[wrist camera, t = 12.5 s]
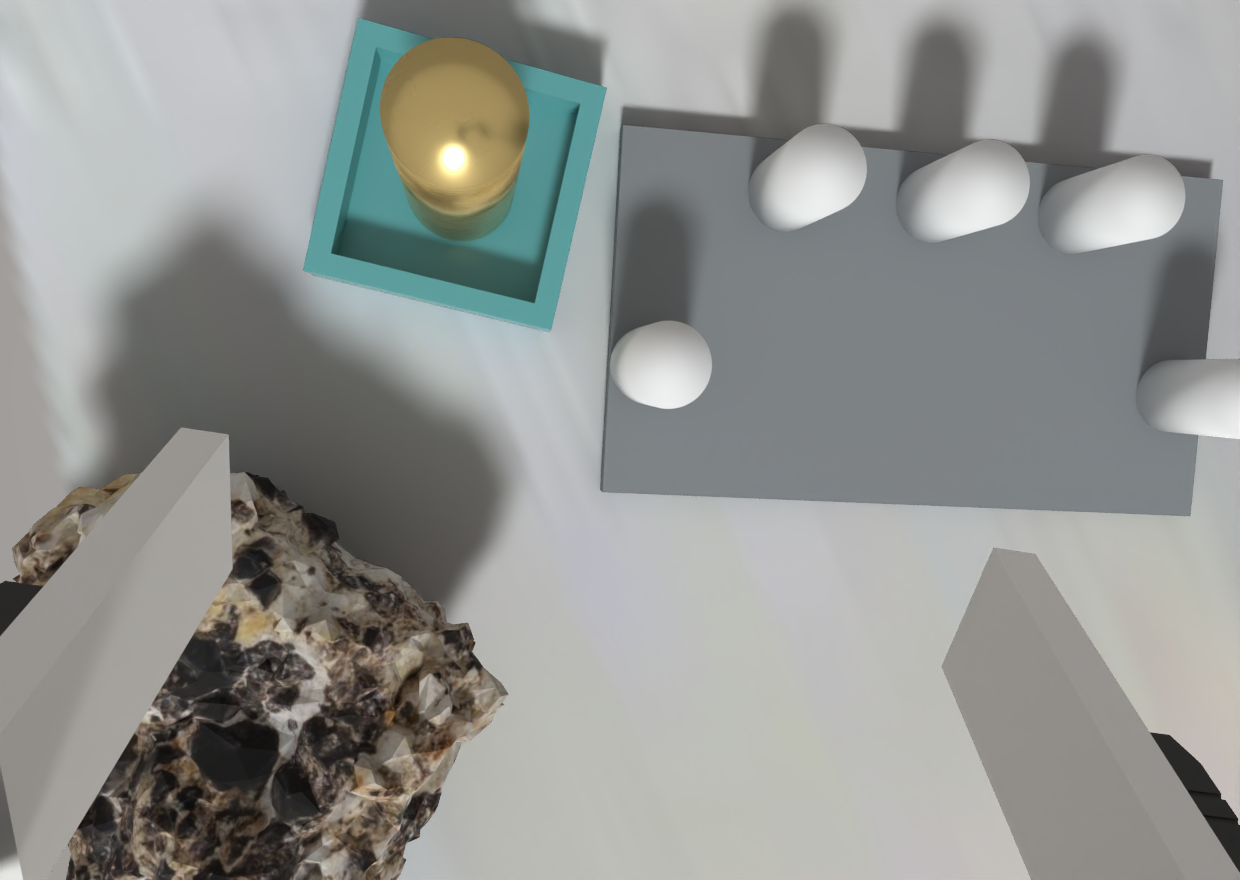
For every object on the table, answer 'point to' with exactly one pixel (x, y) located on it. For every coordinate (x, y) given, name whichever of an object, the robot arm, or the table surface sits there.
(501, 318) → the tray
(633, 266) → the board
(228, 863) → the mineral specimen
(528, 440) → the table surface
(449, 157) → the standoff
